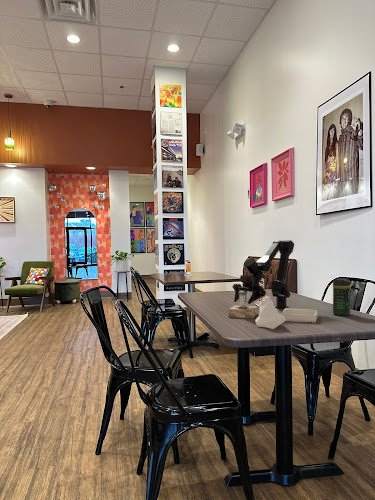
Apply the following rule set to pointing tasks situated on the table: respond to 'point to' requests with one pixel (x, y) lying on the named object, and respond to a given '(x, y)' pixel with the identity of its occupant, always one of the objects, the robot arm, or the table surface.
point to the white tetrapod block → (269, 315)
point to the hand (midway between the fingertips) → (241, 302)
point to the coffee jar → (341, 296)
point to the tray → (300, 315)
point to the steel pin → (243, 299)
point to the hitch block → (243, 312)
